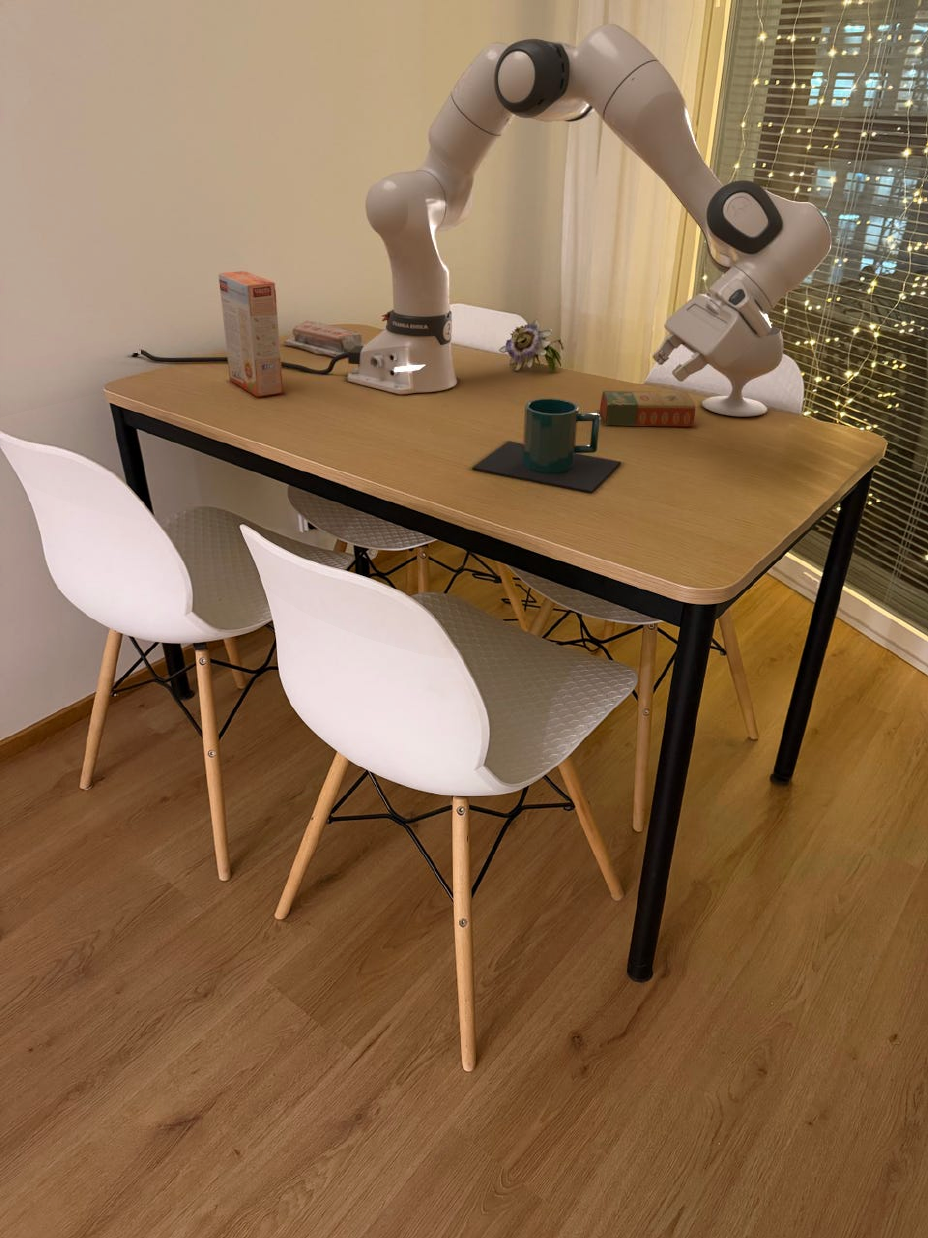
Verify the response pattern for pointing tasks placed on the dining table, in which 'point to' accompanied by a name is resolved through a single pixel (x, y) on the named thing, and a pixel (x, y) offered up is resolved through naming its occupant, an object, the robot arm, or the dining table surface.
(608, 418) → the carton
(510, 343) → the passion flower
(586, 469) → the placemat
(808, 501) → the dining table surface
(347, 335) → the packaged product
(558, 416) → the mug
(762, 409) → the chalice
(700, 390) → the dining table surface
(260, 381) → the cracker box
